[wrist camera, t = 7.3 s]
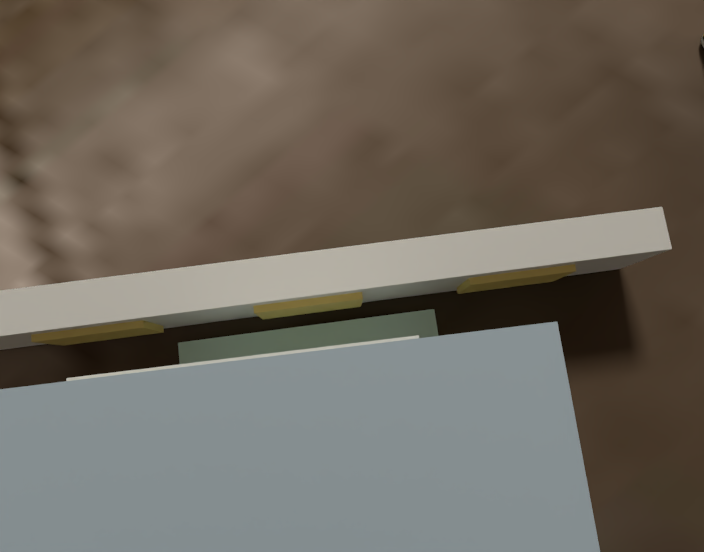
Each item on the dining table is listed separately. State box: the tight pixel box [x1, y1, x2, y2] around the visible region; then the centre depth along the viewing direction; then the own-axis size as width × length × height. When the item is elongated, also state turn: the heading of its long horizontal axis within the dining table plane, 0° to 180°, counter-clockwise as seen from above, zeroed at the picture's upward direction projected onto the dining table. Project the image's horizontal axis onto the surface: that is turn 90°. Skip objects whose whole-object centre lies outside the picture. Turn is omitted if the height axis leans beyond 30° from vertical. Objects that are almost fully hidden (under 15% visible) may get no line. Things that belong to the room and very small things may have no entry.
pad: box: [178, 309, 438, 364], centre depth 17 cm, size 8×8×1 cm
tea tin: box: [0, 322, 600, 552], centre depth 10 cm, size 5×5×13 cm
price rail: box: [0, 207, 672, 350], centre depth 17 cm, size 1×20×3 cm, turn 97°
